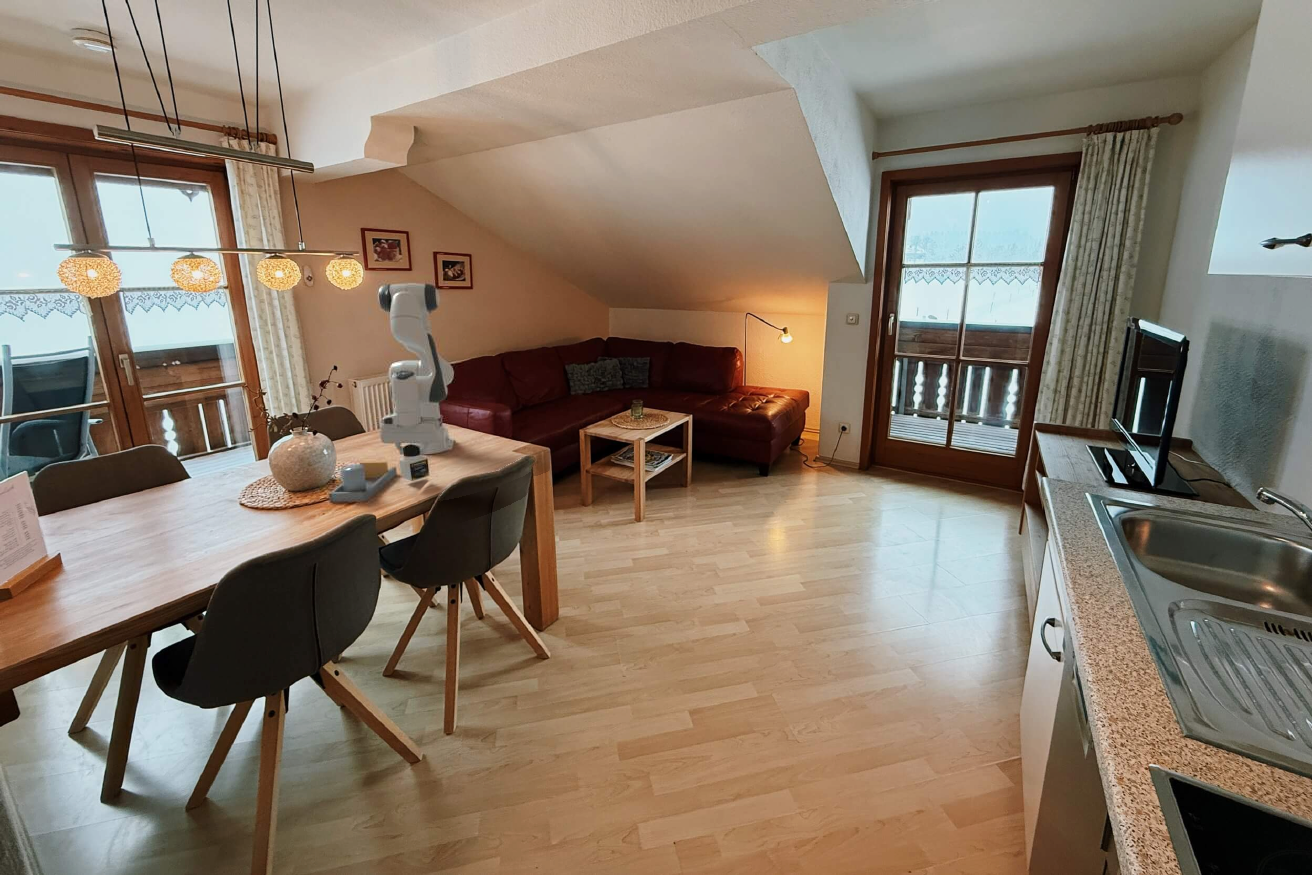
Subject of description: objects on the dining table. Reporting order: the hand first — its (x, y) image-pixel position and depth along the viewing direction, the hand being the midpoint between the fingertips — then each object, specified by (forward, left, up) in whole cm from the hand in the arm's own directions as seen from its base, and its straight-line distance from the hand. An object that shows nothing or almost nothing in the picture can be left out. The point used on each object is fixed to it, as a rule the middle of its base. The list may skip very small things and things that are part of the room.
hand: (413, 454), depth 207 cm
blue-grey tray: (+5, -16, -12) cm, 21 cm away
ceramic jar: (+12, -16, -11) cm, 23 cm away
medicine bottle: (0, 0, -9) cm, 9 cm away
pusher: (-4, -16, -10) cm, 20 cm away
